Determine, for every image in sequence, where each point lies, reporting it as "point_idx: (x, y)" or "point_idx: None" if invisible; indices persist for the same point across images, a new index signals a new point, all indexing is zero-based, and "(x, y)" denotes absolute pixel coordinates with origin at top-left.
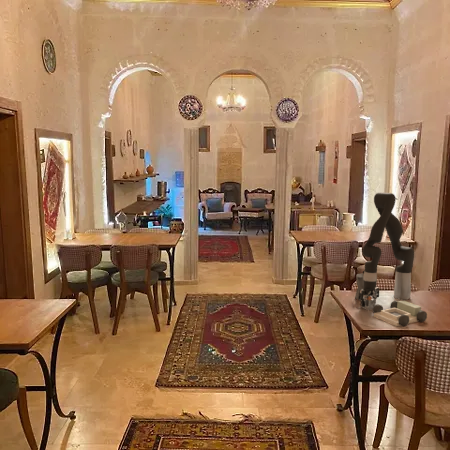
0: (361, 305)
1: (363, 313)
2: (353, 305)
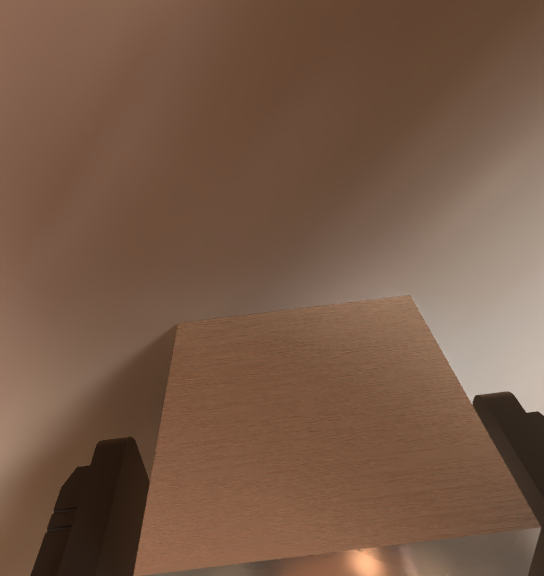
0: (77, 480)
1: (22, 560)
2: (25, 137)
